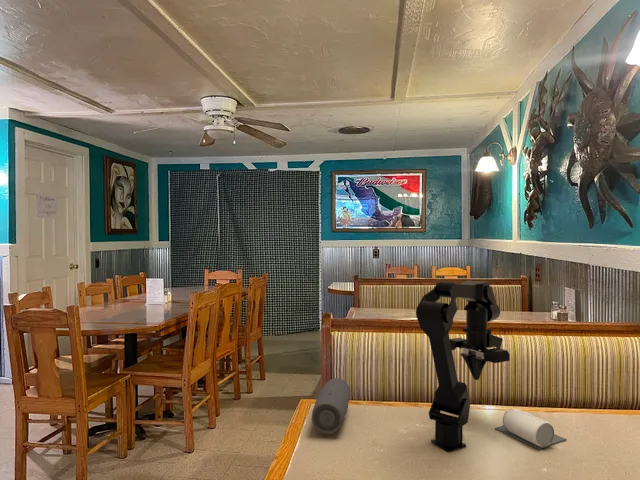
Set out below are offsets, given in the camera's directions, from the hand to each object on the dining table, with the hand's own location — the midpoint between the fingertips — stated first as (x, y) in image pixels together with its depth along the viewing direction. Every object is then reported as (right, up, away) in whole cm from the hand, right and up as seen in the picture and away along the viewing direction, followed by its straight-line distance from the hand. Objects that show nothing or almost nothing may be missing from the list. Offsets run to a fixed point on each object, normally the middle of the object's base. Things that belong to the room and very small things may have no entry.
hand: (476, 379), depth 135 cm
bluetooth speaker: (-41, -13, +2) cm, 43 cm away
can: (+13, -10, -15) cm, 22 cm away
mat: (+12, -13, -6) cm, 19 cm away
